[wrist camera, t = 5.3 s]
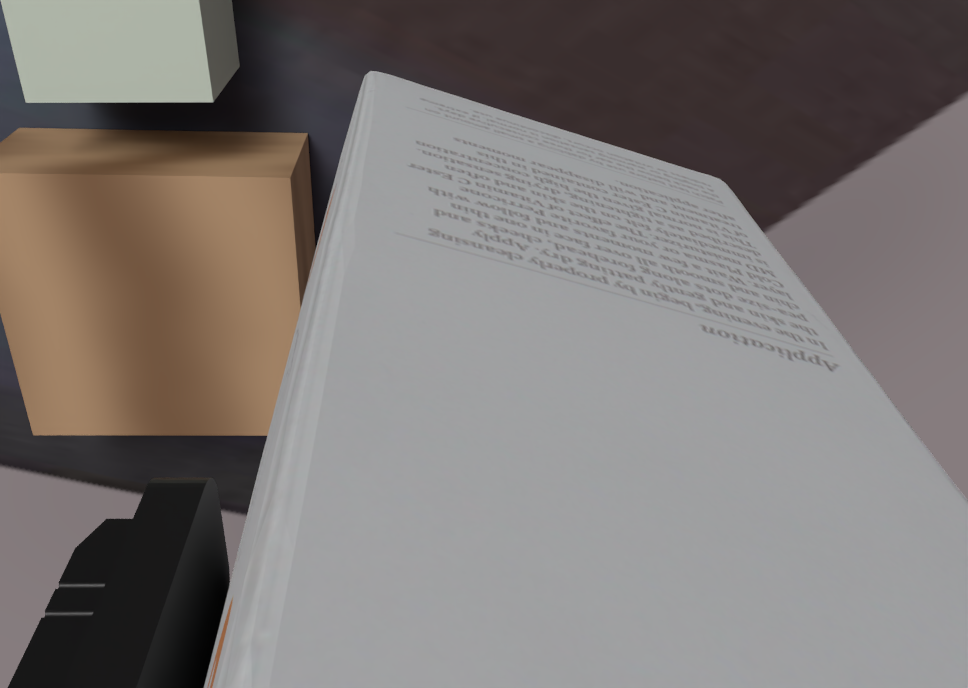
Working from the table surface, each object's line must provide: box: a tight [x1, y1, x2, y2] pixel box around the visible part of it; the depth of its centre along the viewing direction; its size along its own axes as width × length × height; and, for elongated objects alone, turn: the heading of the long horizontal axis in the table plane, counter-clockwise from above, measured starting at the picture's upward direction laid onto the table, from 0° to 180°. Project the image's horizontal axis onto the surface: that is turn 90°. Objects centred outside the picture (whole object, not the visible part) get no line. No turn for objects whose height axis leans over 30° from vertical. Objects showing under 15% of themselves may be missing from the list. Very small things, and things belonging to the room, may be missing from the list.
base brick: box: [0, 128, 316, 436], centre depth 30 cm, size 9×9×4 cm
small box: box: [204, 71, 968, 688], centre depth 11 cm, size 8×6×13 cm
